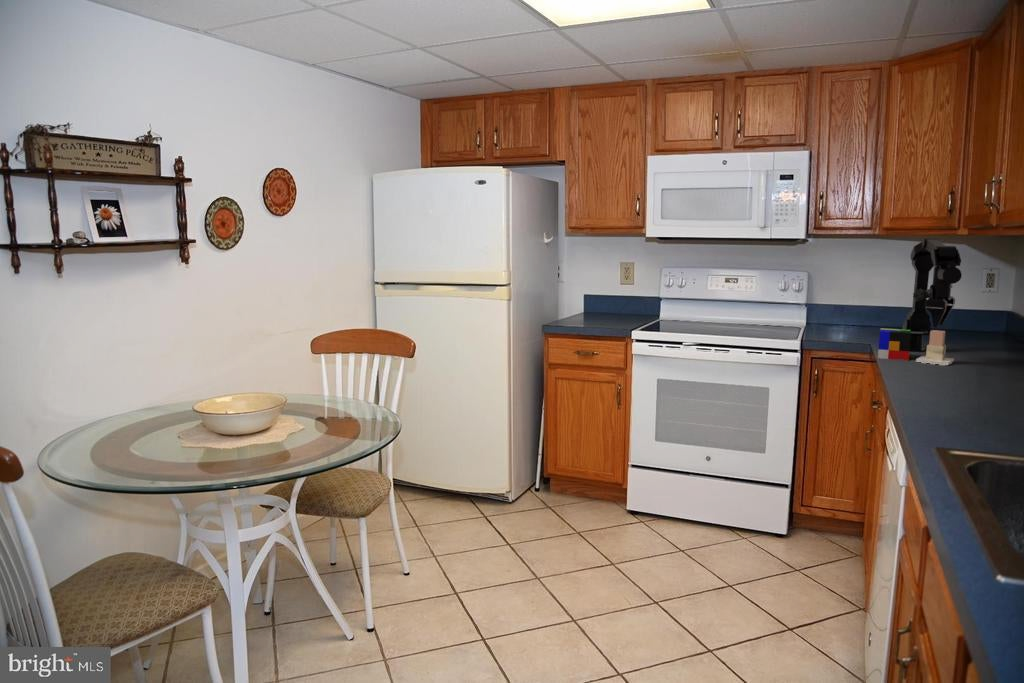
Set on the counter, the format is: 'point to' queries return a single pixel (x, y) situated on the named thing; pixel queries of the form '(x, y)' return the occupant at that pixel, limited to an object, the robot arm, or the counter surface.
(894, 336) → the puzzle toy
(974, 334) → the counter surface
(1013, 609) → the counter surface
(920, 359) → the building plate
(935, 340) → the terracotta brick
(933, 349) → the maple brick
